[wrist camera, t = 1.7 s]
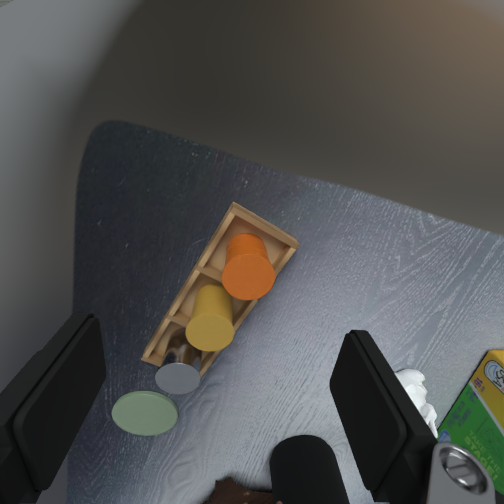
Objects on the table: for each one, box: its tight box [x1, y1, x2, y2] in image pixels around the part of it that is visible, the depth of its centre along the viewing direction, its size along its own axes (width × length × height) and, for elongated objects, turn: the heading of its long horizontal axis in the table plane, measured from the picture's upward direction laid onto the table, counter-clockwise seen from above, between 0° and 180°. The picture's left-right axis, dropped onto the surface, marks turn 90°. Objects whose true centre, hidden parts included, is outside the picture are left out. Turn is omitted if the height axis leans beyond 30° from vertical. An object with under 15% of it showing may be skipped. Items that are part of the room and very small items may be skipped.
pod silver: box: [155, 328, 203, 394], centre depth 31 cm, size 5×5×6 cm
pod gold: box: [186, 284, 234, 351], centre depth 28 cm, size 5×5×6 cm
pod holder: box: [141, 202, 299, 377], centre depth 30 cm, size 22×8×2 cm, turn 148°
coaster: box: [112, 391, 178, 436], centre depth 39 cm, size 9×9×1 cm
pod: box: [222, 233, 275, 300], centre depth 26 cm, size 5×5×6 cm
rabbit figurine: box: [394, 369, 438, 438], centre depth 35 cm, size 12×8×10 cm, turn 149°
